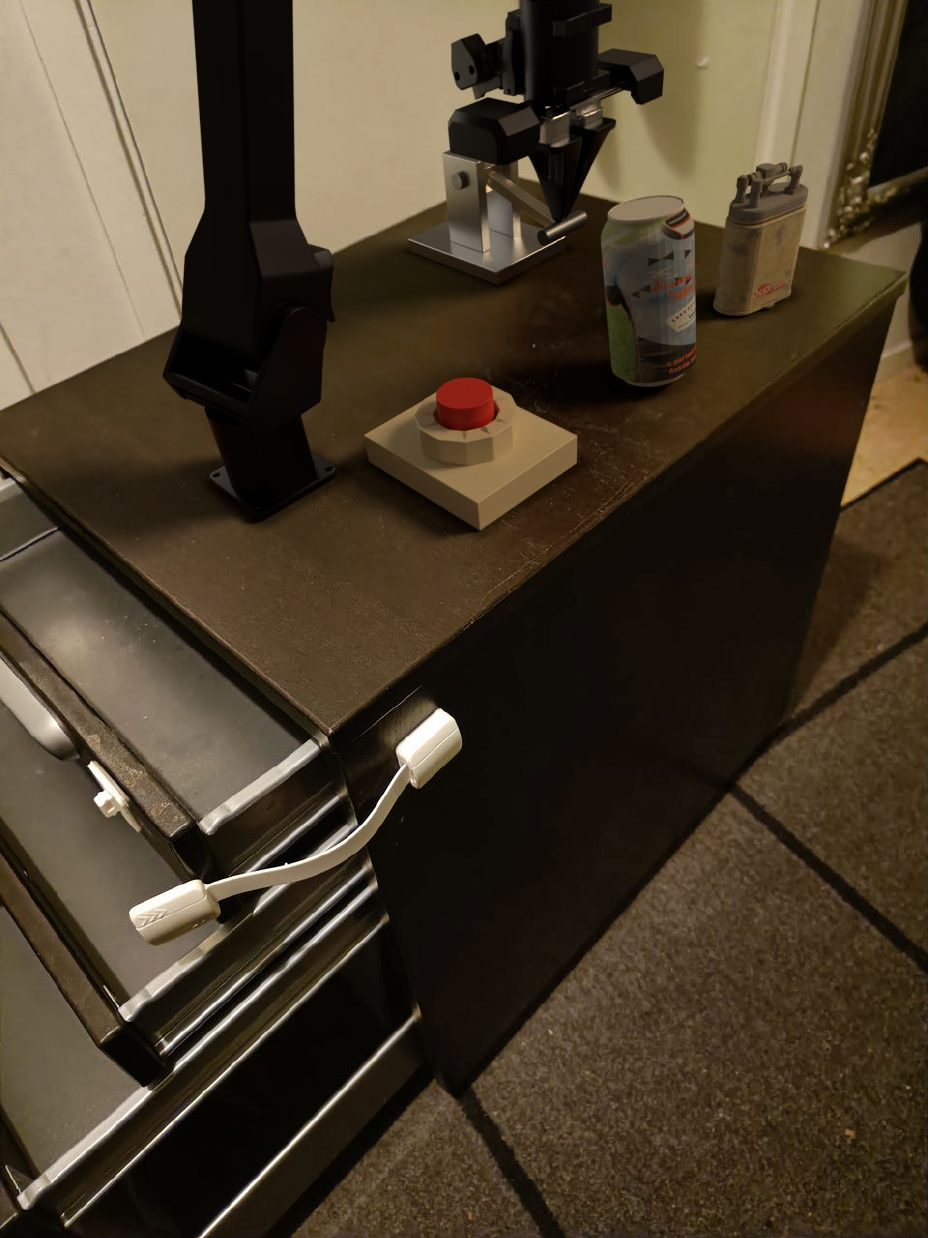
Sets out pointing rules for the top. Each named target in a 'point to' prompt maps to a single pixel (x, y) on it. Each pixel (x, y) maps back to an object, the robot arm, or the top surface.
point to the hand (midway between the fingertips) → (560, 218)
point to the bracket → (482, 226)
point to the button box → (473, 457)
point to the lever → (533, 207)
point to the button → (465, 404)
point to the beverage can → (650, 289)
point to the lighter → (761, 240)
